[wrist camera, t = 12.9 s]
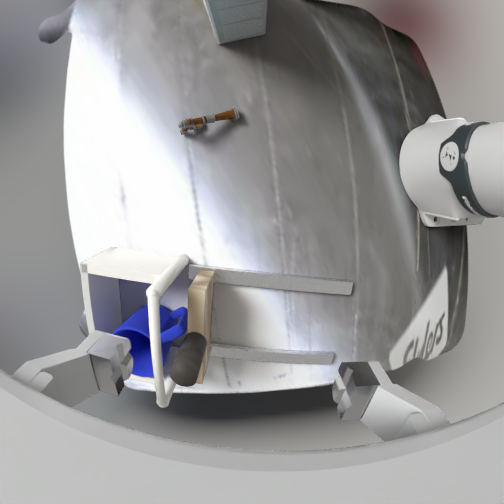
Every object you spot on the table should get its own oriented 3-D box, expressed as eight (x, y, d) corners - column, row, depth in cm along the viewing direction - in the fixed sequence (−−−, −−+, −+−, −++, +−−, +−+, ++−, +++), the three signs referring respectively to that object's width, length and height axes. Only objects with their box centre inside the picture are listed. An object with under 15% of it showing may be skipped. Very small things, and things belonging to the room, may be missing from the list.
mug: (211, 320, 41) (200, 357, 31) (154, 347, 43) (134, 383, 33) (181, 277, 39) (160, 305, 30) (126, 309, 41) (98, 339, 31)
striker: (217, 271, 38) (197, 320, 24) (212, 355, 41) (197, 420, 27) (196, 269, 38) (166, 315, 24) (194, 353, 41) (173, 415, 27)
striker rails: (351, 280, 39) (353, 282, 38) (329, 361, 43) (331, 364, 42) (190, 263, 39) (188, 265, 38) (188, 349, 42) (187, 352, 41)
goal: (189, 254, 38) (158, 290, 25) (187, 355, 43) (167, 411, 30) (111, 245, 38) (59, 272, 25) (119, 341, 43) (84, 387, 29)
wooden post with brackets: (173, 128, 33) (177, 117, 29) (226, 116, 36) (236, 105, 32) (176, 140, 34) (181, 130, 30) (229, 127, 36) (240, 116, 32)
